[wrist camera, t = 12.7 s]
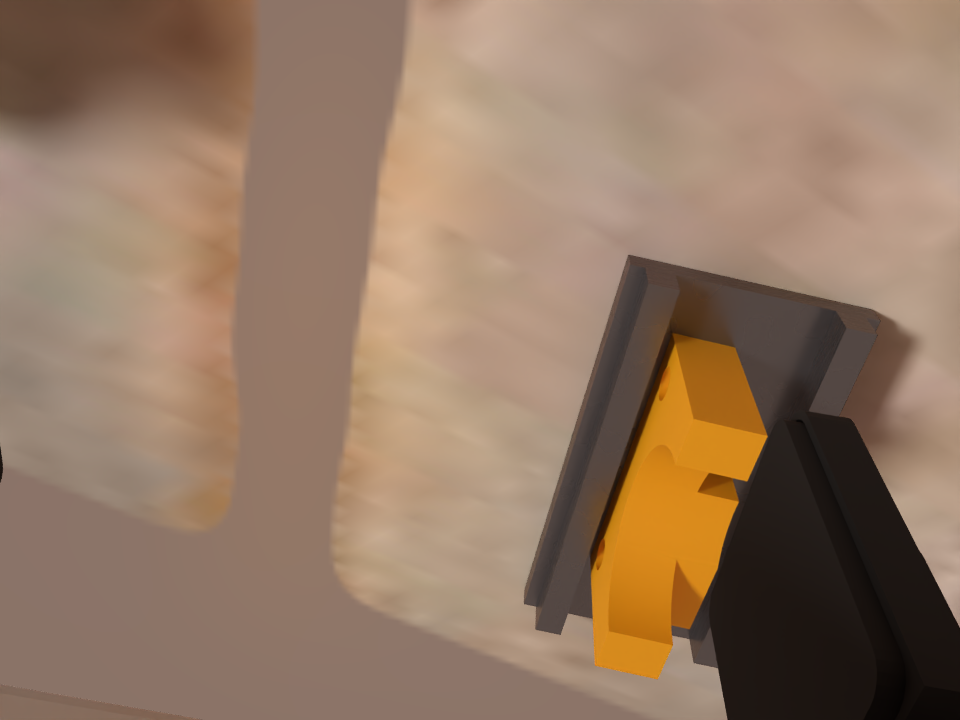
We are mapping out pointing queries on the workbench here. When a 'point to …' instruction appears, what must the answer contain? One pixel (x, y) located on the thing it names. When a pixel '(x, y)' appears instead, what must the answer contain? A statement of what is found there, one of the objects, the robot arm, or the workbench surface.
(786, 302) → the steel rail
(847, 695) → the robot arm
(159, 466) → the workbench surface
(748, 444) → the pipe clamp
